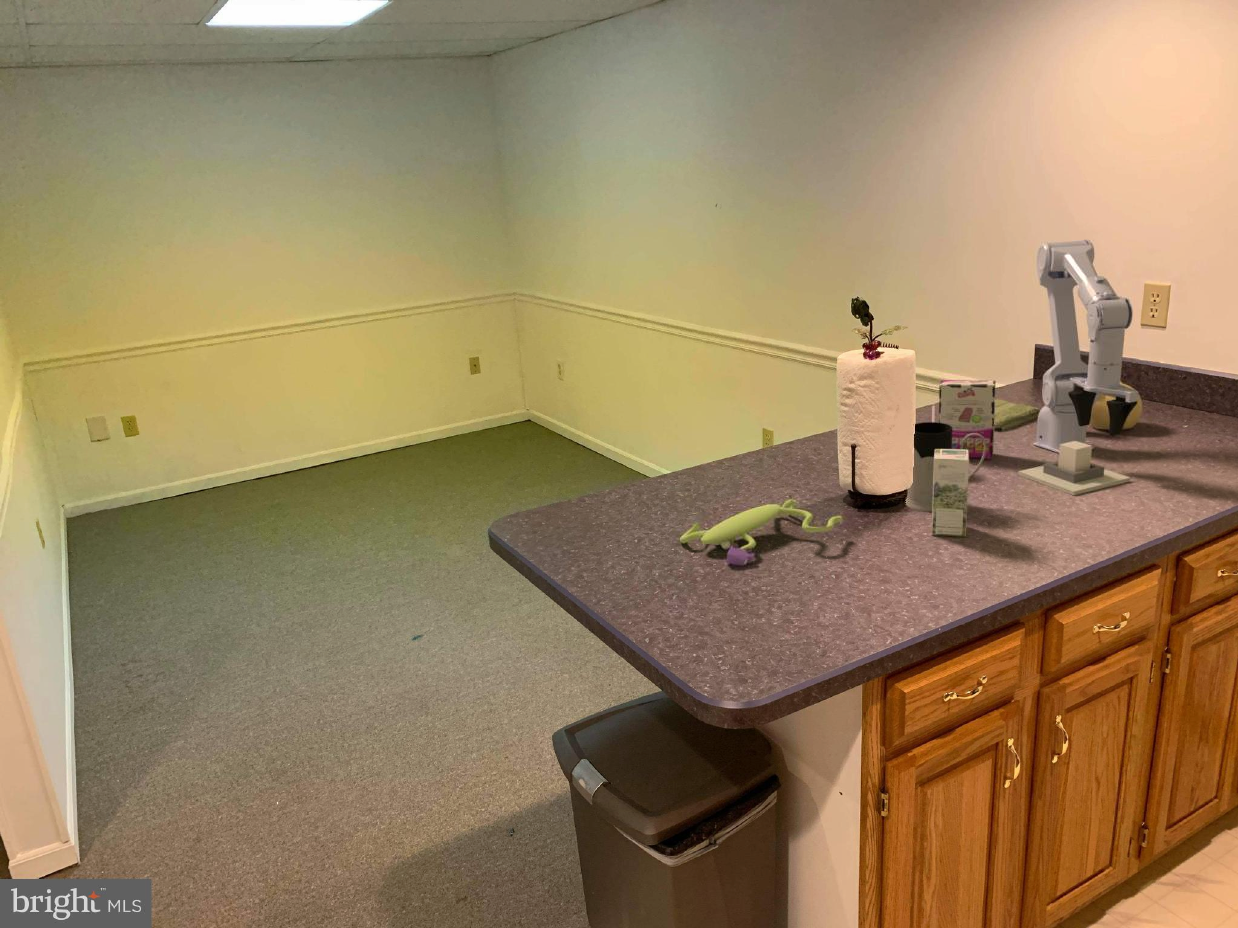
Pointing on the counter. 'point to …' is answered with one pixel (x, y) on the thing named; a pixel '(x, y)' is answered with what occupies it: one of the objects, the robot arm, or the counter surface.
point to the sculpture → (1101, 412)
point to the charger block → (1074, 456)
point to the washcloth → (1012, 414)
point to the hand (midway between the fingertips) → (1099, 429)
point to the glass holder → (930, 461)
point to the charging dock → (1074, 478)
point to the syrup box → (950, 492)
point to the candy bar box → (969, 414)
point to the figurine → (750, 529)
